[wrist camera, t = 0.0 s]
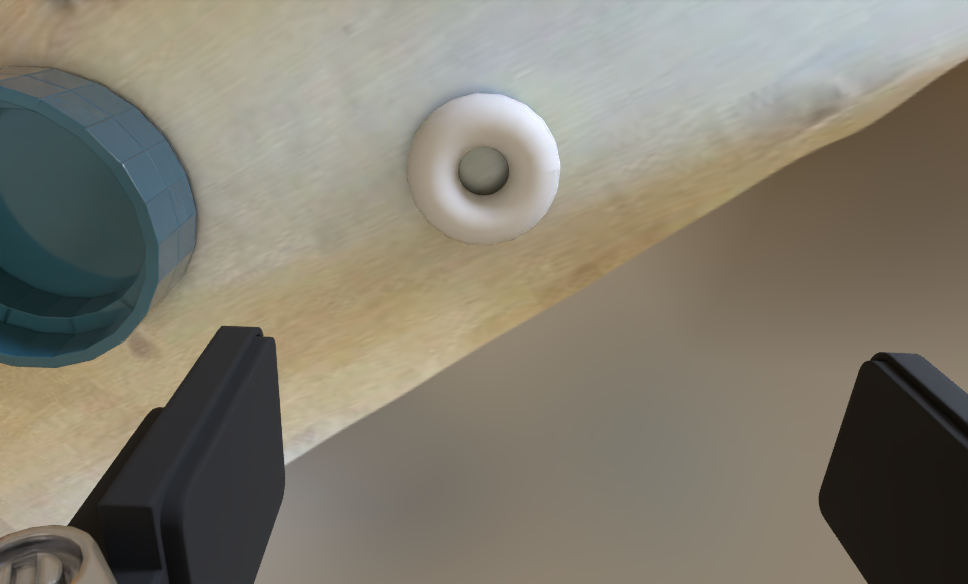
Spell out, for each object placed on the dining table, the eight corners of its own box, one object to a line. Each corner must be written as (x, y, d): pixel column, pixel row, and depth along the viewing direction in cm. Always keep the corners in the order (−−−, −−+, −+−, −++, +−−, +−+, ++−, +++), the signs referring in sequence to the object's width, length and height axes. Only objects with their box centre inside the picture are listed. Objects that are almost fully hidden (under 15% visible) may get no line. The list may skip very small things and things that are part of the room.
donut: (383, 126, 46) (446, 257, 49) (376, 136, 42) (444, 275, 46) (524, 63, 44) (578, 202, 48) (528, 68, 41) (586, 217, 45)
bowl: (-110, 57, 43) (-210, 71, 36) (184, 74, 44) (137, 91, 37) (-39, 313, 50) (-112, 362, 44) (212, 323, 51) (177, 372, 45)
